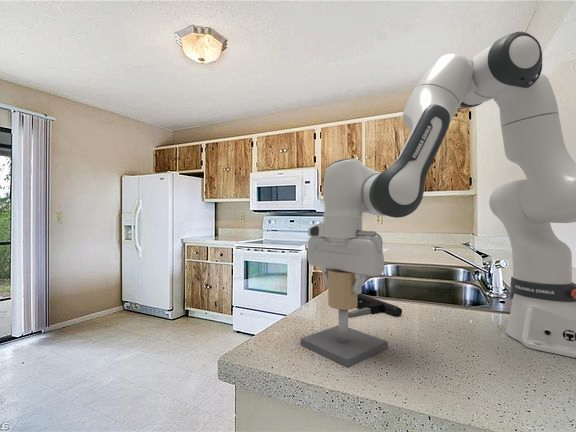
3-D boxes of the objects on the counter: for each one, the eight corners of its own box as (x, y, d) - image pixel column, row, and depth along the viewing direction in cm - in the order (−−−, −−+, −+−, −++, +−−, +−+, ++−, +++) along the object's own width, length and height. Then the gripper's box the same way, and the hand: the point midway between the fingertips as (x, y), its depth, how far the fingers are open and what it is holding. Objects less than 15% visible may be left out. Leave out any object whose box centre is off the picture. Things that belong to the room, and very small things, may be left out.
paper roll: (362, 305, 70) (362, 270, 70) (344, 311, 66) (344, 274, 66) (341, 300, 75) (341, 267, 75) (323, 304, 71) (322, 270, 71)
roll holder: (387, 347, 70) (387, 310, 70) (347, 367, 61) (347, 324, 61) (340, 330, 81) (340, 298, 81) (300, 344, 72) (300, 308, 72)
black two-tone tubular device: (363, 317, 85) (405, 305, 93) (323, 299, 103) (361, 291, 110) (363, 329, 86) (405, 316, 93) (324, 309, 103) (362, 300, 111)
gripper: (390, 230, 65) (390, 296, 65) (320, 228, 81) (321, 280, 81) (372, 231, 61) (372, 301, 61) (303, 228, 77) (303, 284, 77)
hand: (342, 289), depth 71 cm, fingers closed on paper roll, 6 cm apart
